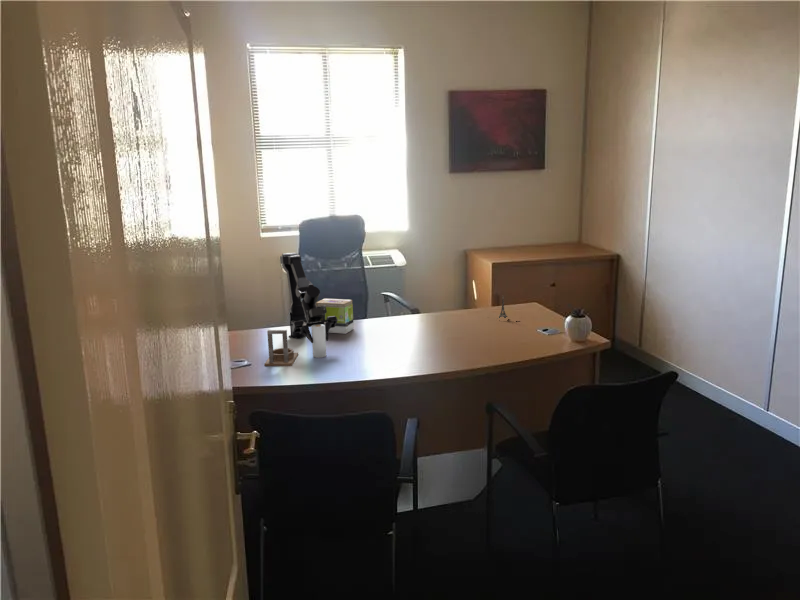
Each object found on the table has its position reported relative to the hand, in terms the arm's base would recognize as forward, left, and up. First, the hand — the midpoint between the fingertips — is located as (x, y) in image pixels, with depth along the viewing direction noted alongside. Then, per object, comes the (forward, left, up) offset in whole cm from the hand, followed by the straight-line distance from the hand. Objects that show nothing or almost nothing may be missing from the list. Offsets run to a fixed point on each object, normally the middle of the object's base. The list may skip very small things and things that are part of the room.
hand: (320, 341), depth 261 cm
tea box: (-18, +35, -7) cm, 40 cm away
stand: (-12, -10, -7) cm, 17 cm away
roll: (-1, +1, -7) cm, 7 cm away
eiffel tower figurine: (+47, +89, -7) cm, 101 cm away
